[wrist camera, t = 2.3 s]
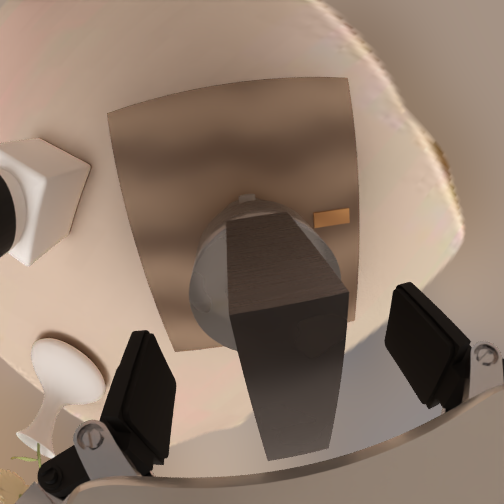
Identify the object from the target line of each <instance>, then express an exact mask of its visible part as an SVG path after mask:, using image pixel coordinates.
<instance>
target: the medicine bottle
mask: <svg viewBox="0 0 504 504" xmlns="http://www.w3.org/2000/svg"><path fill="white" fill-rule="evenodd" d="M90 169H91V167H90V165H89V164H87V163H86V162H84V161H82V160H80V159H78V158H76V157H74V156H72V155H70V154H69V153H67V152H65V151H63V150H61V149H59V148H57V147H55V146H53V145H52V144H50V143H48V142H46V141H44V140H42V139H40V138H34V139H26V140H18V141H11V142H5V143H0V258H1V257H2V256H3V255H5V254H6V253H9V254H10V255H11V256H13V257H14V258H16V259H17V260H18V261H20V262H21V263H22V264H24V265H25V266H27V267H28V266H31V265H32V264H33V263H34V262H35V261H36V260H38V259H39V258H40V257H41V256H42V255H44V254H45V253H46V252H47V251H48V250H50V249H51V248H52V247H53V246H55V245H56V244H57V243H58V242H60V241H61V240H62V239H64V238H65V237H66V236H68V234H69V232H70V228H71V225H72V221H73V218H74V215H75V212H76V208H77V205H78V202H79V199H80V196H81V193H82V190H83V188H84V185H85V182H86V179H87V177H88V174H89V172H90Z"/></svg>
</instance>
